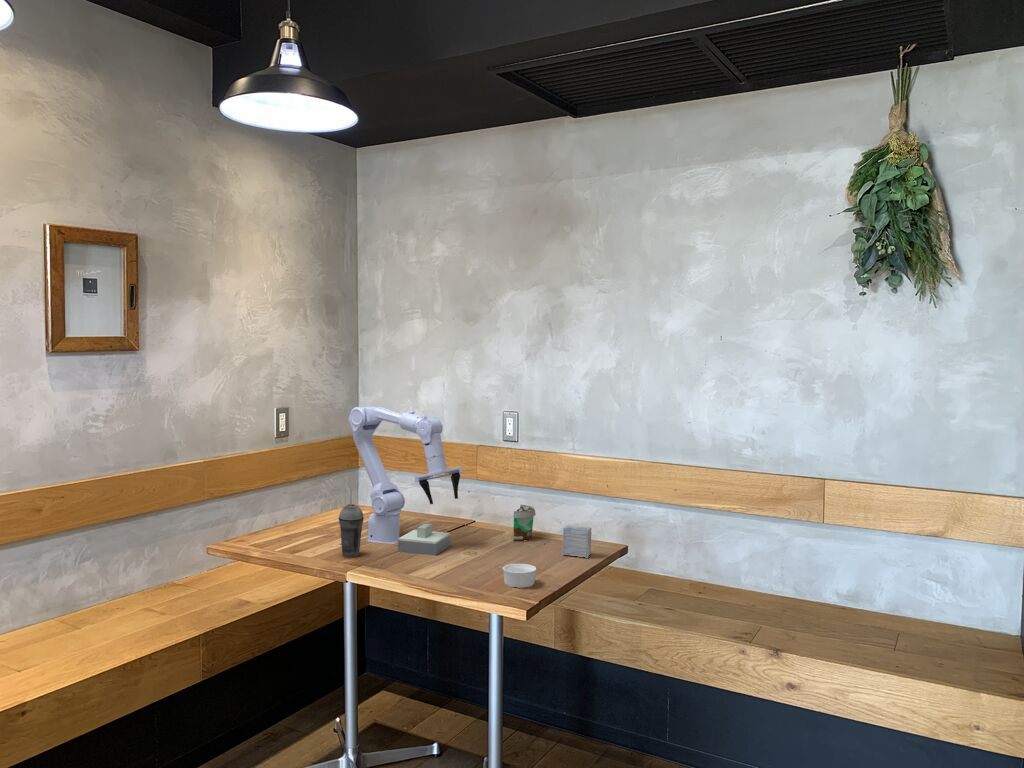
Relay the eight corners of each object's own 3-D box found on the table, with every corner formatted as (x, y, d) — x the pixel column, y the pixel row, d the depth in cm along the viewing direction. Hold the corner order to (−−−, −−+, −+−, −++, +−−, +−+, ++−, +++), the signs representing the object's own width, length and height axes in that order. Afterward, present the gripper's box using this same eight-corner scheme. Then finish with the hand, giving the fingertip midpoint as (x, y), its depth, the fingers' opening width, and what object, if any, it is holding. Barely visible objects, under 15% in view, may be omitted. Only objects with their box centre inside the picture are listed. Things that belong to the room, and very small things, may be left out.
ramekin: (497, 586, 200) (497, 569, 200) (509, 577, 209) (510, 561, 208) (529, 590, 197) (529, 574, 197) (540, 581, 205) (541, 565, 205)
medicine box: (591, 555, 233) (592, 527, 233) (587, 559, 229) (588, 530, 228) (566, 552, 236) (566, 524, 235) (562, 556, 231) (562, 527, 231)
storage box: (398, 553, 230) (398, 540, 230) (414, 544, 241) (414, 531, 241) (435, 557, 226) (435, 543, 226) (449, 547, 238) (450, 534, 238)
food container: (531, 543, 245) (532, 512, 245) (512, 542, 247) (513, 511, 246) (537, 535, 257) (538, 505, 257) (519, 533, 259) (520, 504, 258)
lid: (398, 541, 230) (398, 528, 229) (414, 532, 241) (414, 520, 241) (435, 545, 226) (436, 531, 226) (450, 536, 238) (450, 523, 238)
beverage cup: (341, 562, 219) (342, 492, 218) (335, 555, 226) (336, 488, 225) (366, 559, 222) (367, 490, 222) (359, 553, 229) (360, 486, 228)
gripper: (412, 461, 228) (421, 506, 227) (460, 451, 231) (469, 496, 230) (411, 462, 235) (419, 506, 233) (457, 452, 238) (466, 496, 237)
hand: (444, 501), depth 232 cm, fingers open, 7 cm apart
